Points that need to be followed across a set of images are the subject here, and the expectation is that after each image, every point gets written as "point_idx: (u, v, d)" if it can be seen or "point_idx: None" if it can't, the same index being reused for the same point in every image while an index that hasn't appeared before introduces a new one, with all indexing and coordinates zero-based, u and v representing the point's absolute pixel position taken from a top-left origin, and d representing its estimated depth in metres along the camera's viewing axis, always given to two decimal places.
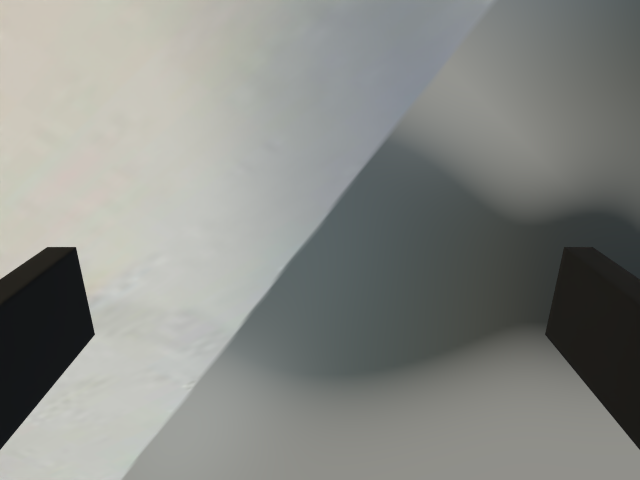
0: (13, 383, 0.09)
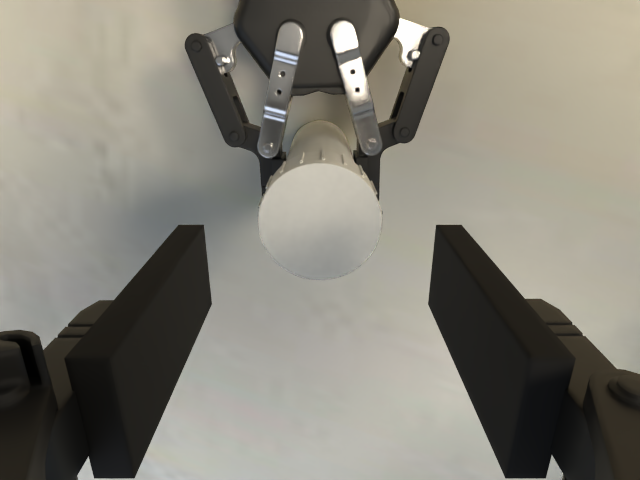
0: (178, 336, 0.11)
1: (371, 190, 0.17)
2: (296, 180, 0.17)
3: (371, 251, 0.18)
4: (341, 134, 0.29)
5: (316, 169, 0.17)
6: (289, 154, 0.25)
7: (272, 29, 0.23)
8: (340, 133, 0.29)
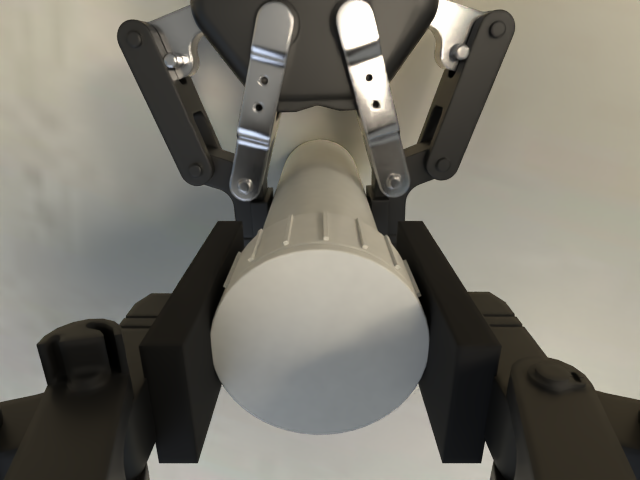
0: None
1: (413, 295, 0.09)
2: (277, 279, 0.09)
3: (409, 392, 0.10)
4: (349, 160, 0.21)
5: (313, 260, 0.09)
6: (275, 196, 0.17)
7: (248, 13, 0.15)
8: (347, 159, 0.21)
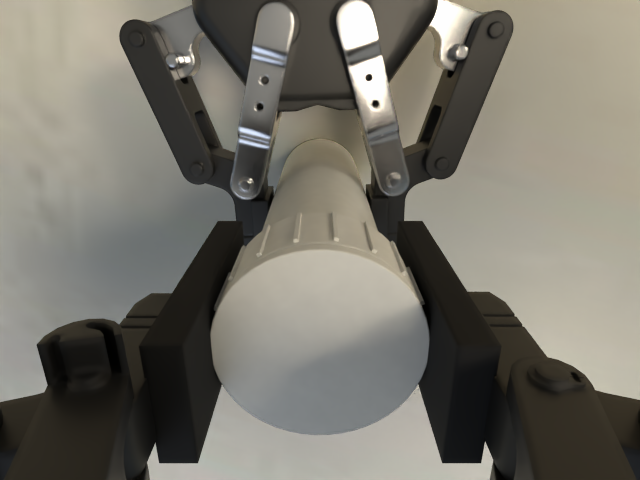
0: None
1: (279, 257, 0.09)
2: (233, 365, 0.10)
3: (398, 282, 0.09)
4: (349, 160, 0.22)
5: (220, 334, 0.10)
6: (276, 195, 0.17)
7: (249, 14, 0.15)
8: (347, 158, 0.22)
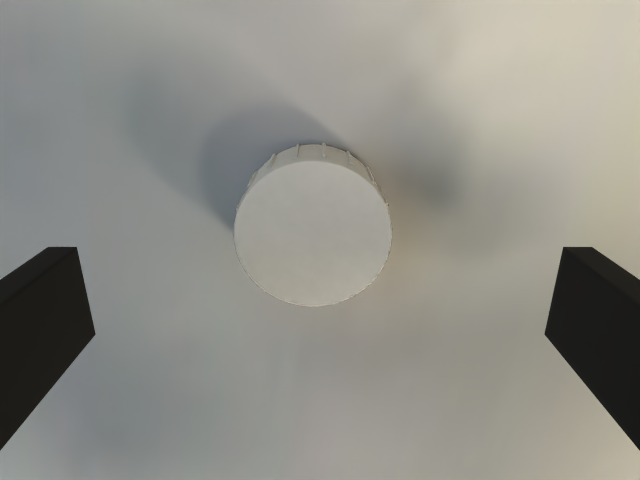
0: (14, 382, 0.09)
1: (283, 166, 0.13)
2: (250, 250, 0.14)
3: (368, 185, 0.13)
4: None
5: (241, 225, 0.14)
6: None
7: None
8: None
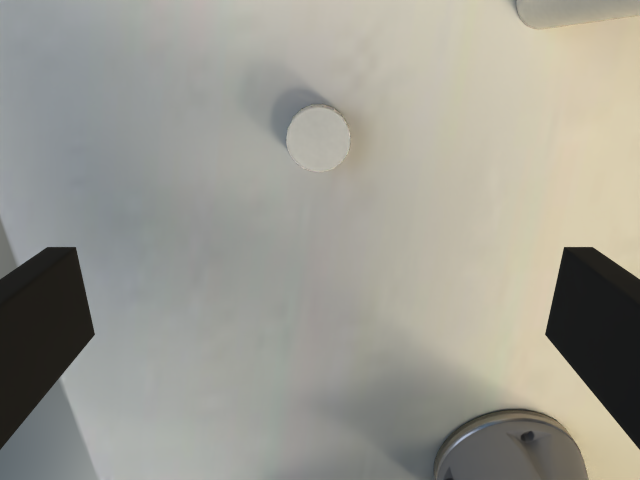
0: (13, 383, 0.09)
1: (307, 109, 0.33)
2: (293, 145, 0.34)
3: (340, 117, 0.33)
4: None
5: (289, 134, 0.34)
6: None
7: None
8: None
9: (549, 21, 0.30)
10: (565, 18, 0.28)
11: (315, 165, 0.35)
